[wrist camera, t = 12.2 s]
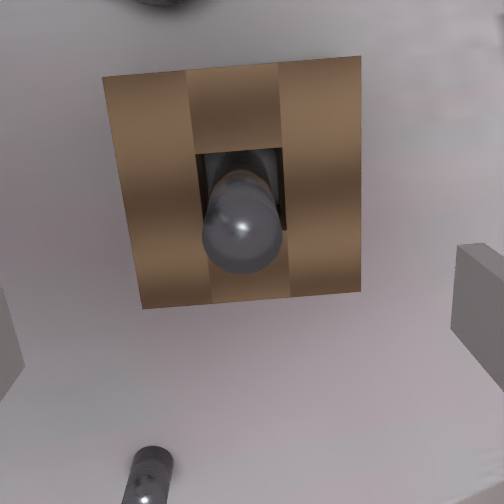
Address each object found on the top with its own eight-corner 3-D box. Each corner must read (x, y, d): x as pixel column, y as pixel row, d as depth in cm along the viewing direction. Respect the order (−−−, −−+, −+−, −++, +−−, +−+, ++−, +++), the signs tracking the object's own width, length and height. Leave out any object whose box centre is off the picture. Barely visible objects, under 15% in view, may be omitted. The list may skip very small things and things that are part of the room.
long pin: (213, 151, 33) (197, 200, 20) (264, 147, 33) (280, 194, 20) (219, 200, 34) (206, 277, 21) (267, 196, 34) (284, 270, 21)
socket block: (126, 76, 31) (101, 76, 26) (339, 59, 31) (361, 55, 26) (157, 272, 36) (142, 309, 31) (341, 257, 36) (360, 291, 31)
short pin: (130, 447, 42) (116, 494, 37) (170, 444, 42) (161, 490, 37) (137, 478, 43) (124, 527, 39) (175, 475, 43) (167, 524, 39)
